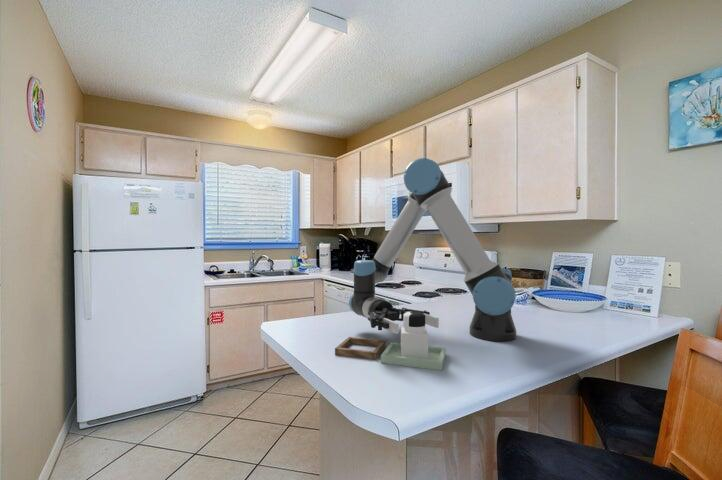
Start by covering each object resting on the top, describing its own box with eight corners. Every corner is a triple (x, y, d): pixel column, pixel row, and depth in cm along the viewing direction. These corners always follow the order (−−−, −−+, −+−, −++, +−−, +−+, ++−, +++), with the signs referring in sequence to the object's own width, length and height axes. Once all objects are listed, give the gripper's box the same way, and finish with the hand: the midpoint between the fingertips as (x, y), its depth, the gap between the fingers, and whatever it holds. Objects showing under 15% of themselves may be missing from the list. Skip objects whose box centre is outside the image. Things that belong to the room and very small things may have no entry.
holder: (385, 346, 107) (385, 340, 107) (375, 359, 95) (375, 352, 95) (349, 342, 110) (349, 336, 110) (334, 354, 99) (335, 348, 99)
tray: (445, 354, 99) (445, 348, 99) (442, 370, 88) (442, 362, 88) (390, 349, 104) (390, 342, 104) (380, 362, 93) (380, 355, 93)
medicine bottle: (425, 352, 99) (426, 310, 99) (428, 361, 92) (428, 316, 92) (400, 351, 100) (401, 309, 100) (401, 359, 93) (401, 315, 93)
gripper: (409, 318, 119) (452, 333, 100) (343, 326, 107) (378, 345, 89) (409, 296, 119) (453, 307, 100) (343, 302, 107) (378, 316, 89)
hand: (418, 325), depth 94 cm, fingers open, 13 cm apart
